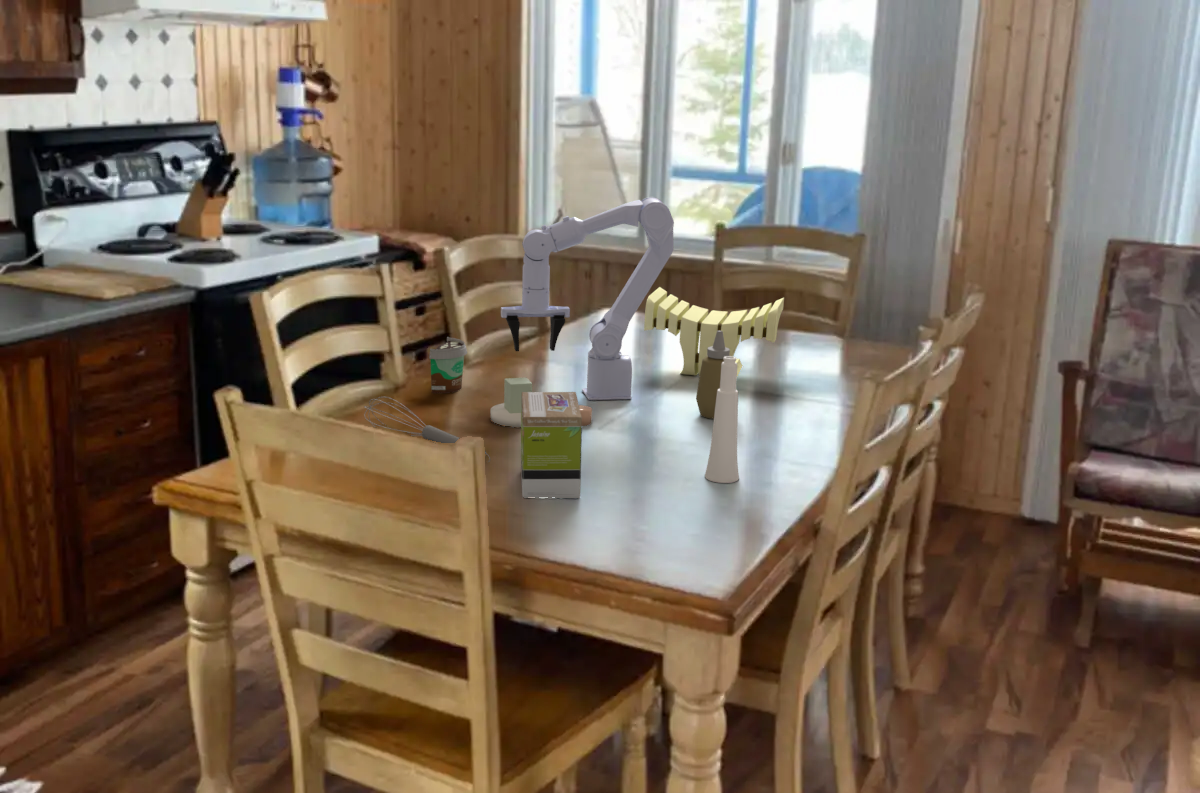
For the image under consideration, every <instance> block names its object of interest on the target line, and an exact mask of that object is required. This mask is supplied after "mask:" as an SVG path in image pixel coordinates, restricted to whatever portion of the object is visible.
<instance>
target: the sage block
mask: <svg viewBox="0 0 1200 793" xmlns="http://www.w3.org/2000/svg"><path fill="white" fill-rule="evenodd" d="M503 388H504V390H503V392H504V394H503V397H504V400H503V401H504V402H503V403H504V408H505V409H506V410H507V411H508V412H509V413H521V396H522V392H533V383H532V381H530V379H529V378H527V377H511V378H510V377H509V378H506V377H505V378H504V386H503Z"/></svg>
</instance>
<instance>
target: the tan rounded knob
mask: <svg viewBox="0 0 1200 793" xmlns="http://www.w3.org/2000/svg"><path fill="white" fill-rule="evenodd" d="M579 408H580V413H581V416H582V427H586V426H587V425H588V426H590V425H591V424H592V423H593V422H592V421H593V420H592V417H593V408H592V407H590V406H589V405H582V404H581V405H580V404H579Z"/></svg>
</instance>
